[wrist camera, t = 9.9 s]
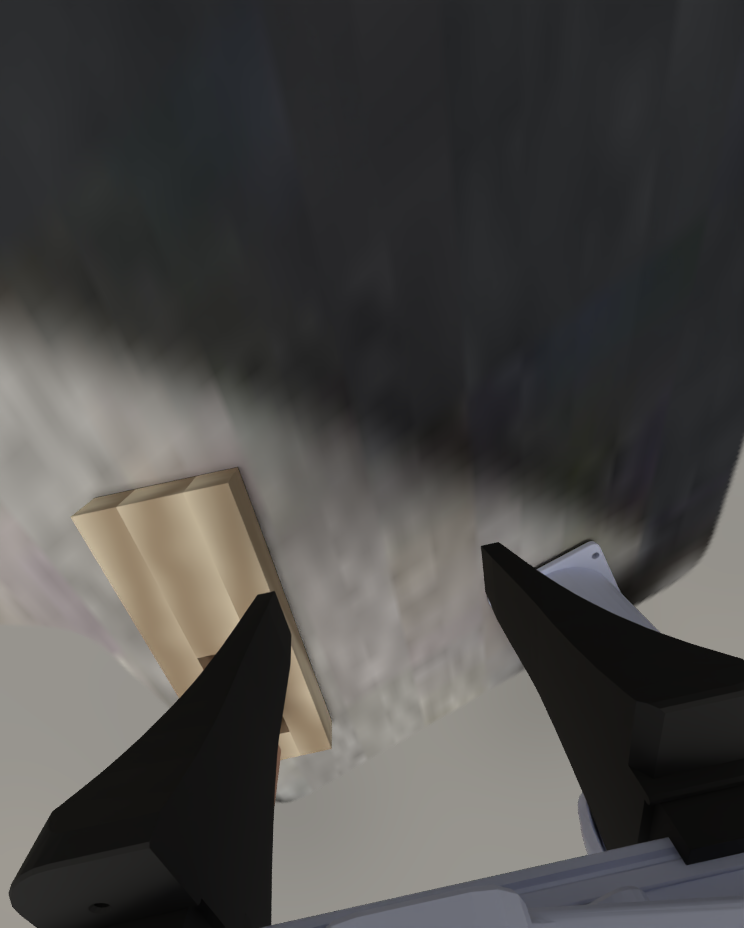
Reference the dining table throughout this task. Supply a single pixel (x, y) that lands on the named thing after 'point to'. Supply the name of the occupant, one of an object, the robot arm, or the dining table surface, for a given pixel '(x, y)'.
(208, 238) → the dining table surface
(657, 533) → the dining table surface
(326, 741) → the rail
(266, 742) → the robot arm
